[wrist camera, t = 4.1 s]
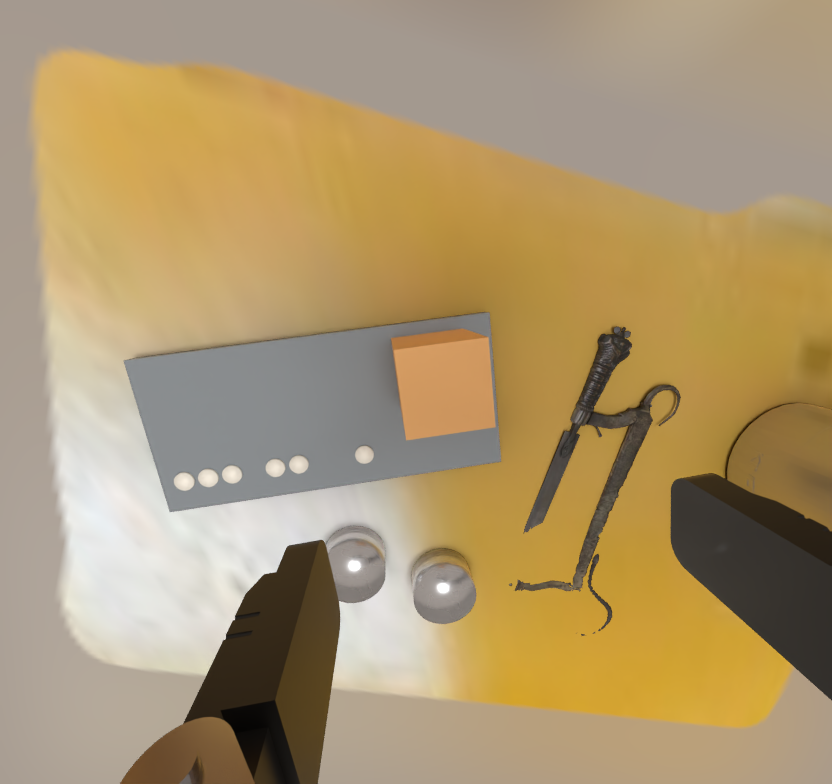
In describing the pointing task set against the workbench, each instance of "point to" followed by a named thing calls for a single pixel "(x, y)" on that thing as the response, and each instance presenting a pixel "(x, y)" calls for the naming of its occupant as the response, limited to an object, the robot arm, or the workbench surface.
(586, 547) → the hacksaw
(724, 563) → the robot arm
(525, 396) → the workbench surface
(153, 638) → the workbench surface
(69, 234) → the workbench surface
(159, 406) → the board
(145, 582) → the workbench surface
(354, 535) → the steel cylinder
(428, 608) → the steel cylinder
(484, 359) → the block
